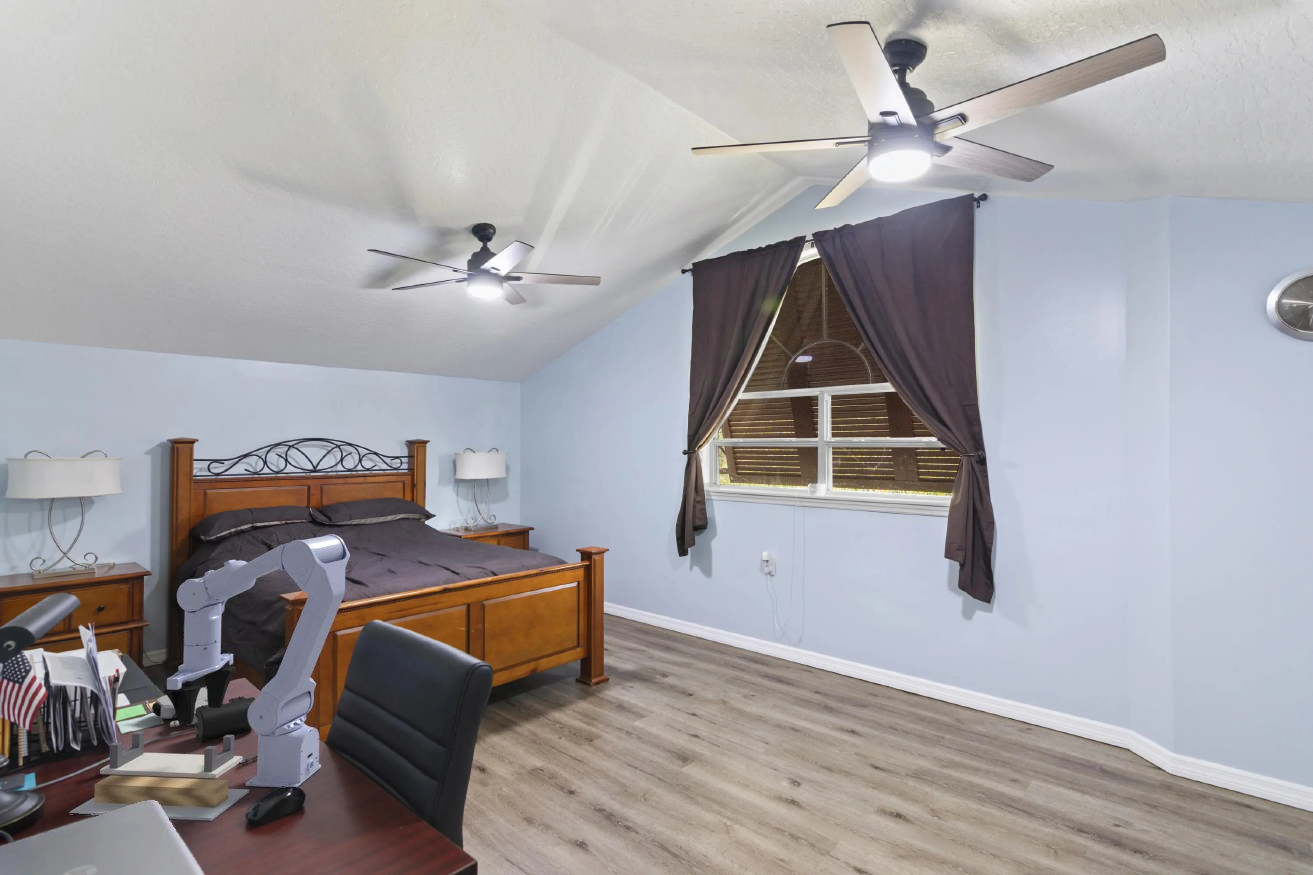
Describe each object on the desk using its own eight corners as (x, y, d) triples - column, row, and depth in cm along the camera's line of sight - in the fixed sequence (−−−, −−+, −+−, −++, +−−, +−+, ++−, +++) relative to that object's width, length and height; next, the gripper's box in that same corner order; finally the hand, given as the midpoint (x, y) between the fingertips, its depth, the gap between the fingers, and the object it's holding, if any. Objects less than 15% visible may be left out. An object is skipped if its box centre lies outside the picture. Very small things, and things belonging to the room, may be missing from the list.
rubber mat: (249, 791, 116) (249, 789, 116) (211, 820, 107) (211, 817, 107) (117, 786, 117) (117, 783, 117) (69, 814, 108) (69, 811, 108)
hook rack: (242, 760, 127) (243, 733, 127) (216, 778, 120) (216, 750, 120) (132, 756, 128) (133, 729, 129) (99, 773, 121) (100, 745, 122)
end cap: (202, 748, 132) (203, 714, 132) (192, 738, 137) (192, 704, 137) (258, 732, 140) (259, 700, 140) (246, 723, 144) (247, 691, 144)
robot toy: (234, 721, 147) (207, 700, 156) (235, 701, 147) (208, 681, 156) (168, 740, 138) (143, 717, 147) (169, 719, 138) (144, 696, 147)
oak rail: (228, 798, 113) (228, 780, 113) (215, 807, 110) (215, 789, 110) (110, 792, 114) (110, 775, 114) (94, 802, 111) (94, 783, 111)
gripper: (209, 630, 132) (207, 699, 132) (150, 652, 118) (148, 730, 118) (244, 631, 132) (242, 700, 132) (189, 653, 118) (187, 731, 117)
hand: (200, 714), depth 125 cm, fingers open, 7 cm apart
